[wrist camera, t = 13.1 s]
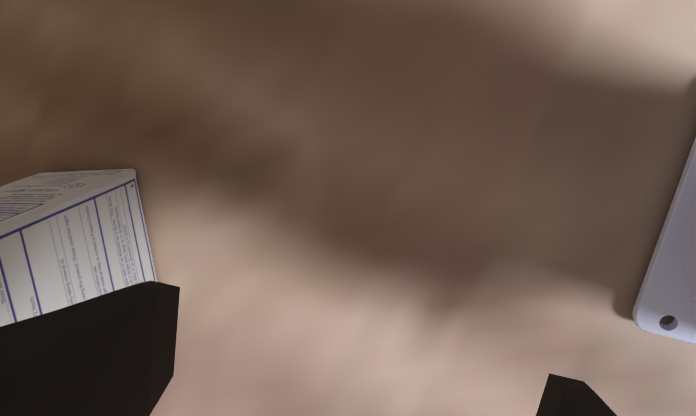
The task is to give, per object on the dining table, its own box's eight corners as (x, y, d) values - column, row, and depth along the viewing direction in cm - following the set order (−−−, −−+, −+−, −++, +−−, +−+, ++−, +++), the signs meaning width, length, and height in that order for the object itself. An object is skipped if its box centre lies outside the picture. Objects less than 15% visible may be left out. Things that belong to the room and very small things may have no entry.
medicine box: (43, 169, 23) (-201, 246, 15) (142, 165, 22) (-65, 246, 14) (85, 347, 25) (-108, 498, 17) (178, 352, 24) (17, 516, 16)
